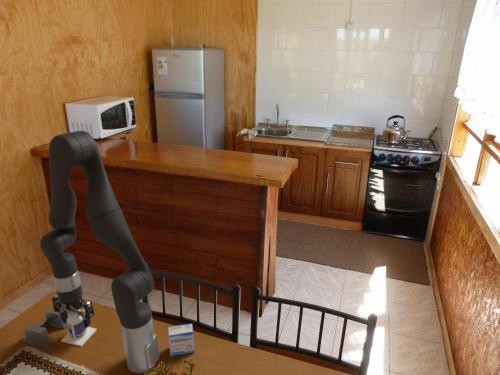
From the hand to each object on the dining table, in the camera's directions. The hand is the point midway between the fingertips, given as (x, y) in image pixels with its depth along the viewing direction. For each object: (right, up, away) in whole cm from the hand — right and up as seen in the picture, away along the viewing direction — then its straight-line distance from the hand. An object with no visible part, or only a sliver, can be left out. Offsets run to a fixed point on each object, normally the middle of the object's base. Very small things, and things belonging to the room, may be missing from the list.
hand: (76, 323), depth 128 cm
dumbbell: (-12, -4, +4) cm, 13 cm away
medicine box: (+37, -7, -4) cm, 38 cm away
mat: (0, -5, +2) cm, 5 cm away
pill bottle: (0, -4, +2) cm, 5 cm away
